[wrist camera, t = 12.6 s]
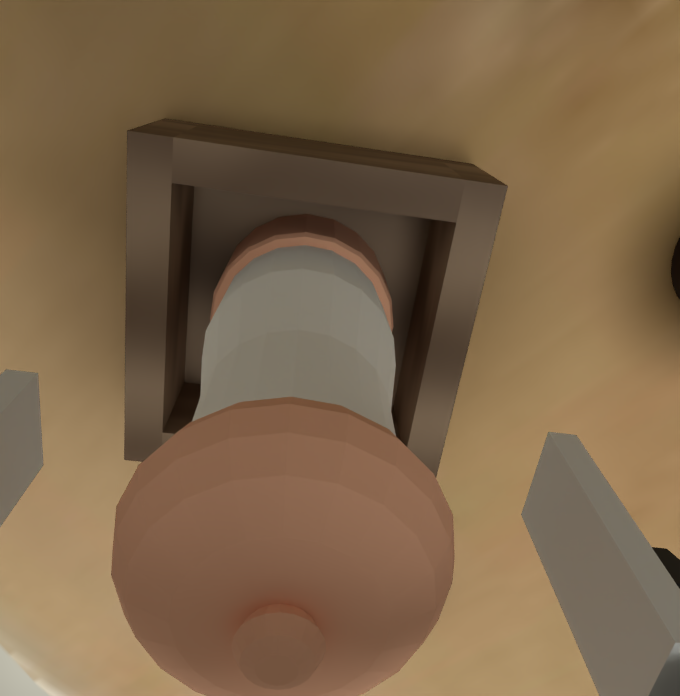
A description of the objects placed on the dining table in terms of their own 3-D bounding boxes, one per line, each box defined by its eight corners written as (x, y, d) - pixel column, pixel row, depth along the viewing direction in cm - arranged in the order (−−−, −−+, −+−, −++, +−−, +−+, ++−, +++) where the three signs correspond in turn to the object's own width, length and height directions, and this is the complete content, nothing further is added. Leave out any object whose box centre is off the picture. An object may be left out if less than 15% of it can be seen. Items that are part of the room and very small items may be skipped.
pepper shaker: (350, 388, 30) (391, 835, 13) (202, 339, 29) (17, 759, 11) (411, 249, 27) (574, 568, 10) (251, 187, 26) (111, 430, 9)
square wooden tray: (164, 118, 26) (127, 130, 21) (472, 164, 27) (507, 186, 22) (156, 396, 31) (124, 459, 26) (415, 425, 32) (432, 491, 27)
